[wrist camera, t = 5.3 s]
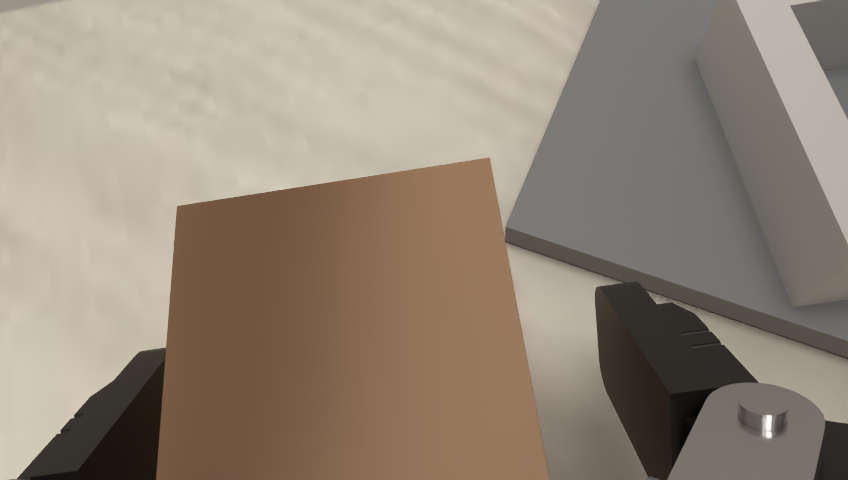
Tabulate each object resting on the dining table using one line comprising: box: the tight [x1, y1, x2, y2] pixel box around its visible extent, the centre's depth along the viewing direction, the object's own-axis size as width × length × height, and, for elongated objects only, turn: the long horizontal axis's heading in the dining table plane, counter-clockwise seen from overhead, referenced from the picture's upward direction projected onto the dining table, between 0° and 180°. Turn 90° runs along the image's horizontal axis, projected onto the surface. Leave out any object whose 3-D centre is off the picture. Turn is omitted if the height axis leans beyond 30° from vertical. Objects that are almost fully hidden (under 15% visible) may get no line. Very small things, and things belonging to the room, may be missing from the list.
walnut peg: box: [156, 158, 549, 480], centre depth 12 cm, size 4×4×10 cm
